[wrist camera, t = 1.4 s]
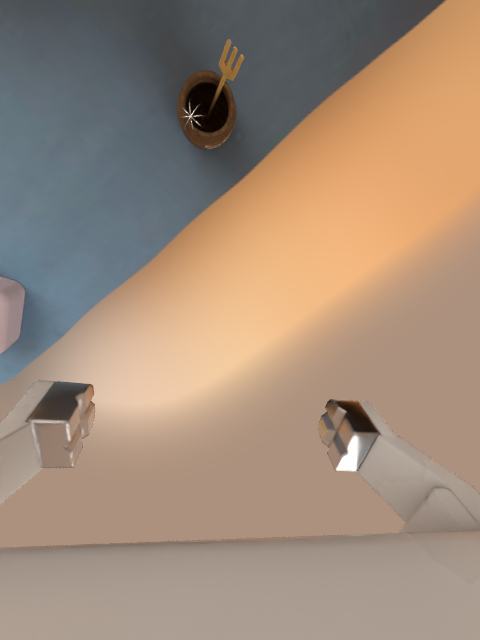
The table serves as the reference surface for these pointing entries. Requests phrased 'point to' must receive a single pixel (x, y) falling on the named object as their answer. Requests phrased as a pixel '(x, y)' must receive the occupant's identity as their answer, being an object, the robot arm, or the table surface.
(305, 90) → the table surface
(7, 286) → the electronic device
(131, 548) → the robot arm
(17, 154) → the table surface
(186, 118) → the utensil holder
